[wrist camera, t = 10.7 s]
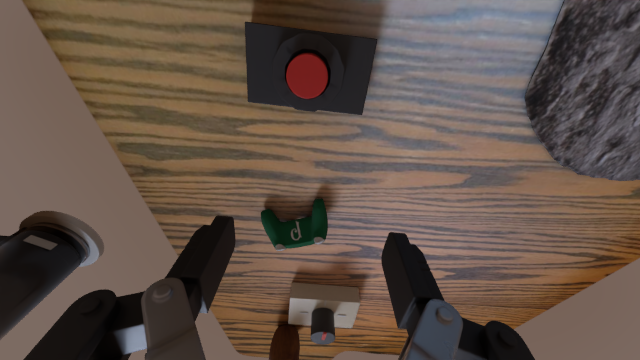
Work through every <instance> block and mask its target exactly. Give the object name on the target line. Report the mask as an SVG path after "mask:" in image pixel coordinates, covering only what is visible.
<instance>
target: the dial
mask: <svg viewBox="0 0 640 360" xmlns="http://www.w3.org/2000/svg"><path fill="white" fill-rule="evenodd" d="M311 340H312V341H313V342H314V343H317V344H329V343H332V342H333V341H334V340H335V324H334V312H333V311H332V310H331V309H328V308H317V309H315V310H314V311H313V312H312V316H311Z"/></svg>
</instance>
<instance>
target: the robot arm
mask: <svg viewBox="0 0 640 360" xmlns="http://www.w3.org/2000/svg"><path fill="white" fill-rule="evenodd" d="M234 247H235V229H234V219H233V217H228V216H216V217H215V219H214V220H213V222H212V224H211V225H203V226H202V227H201V228H200V229H198V230H197V231H196V232H195V233H194V234H193V236H192V237H191V239H190V241H189V242H188V244H187V245H186V247H185V249H184V250H183V251H182V253H181V254H180V256H179V257H178V259H177V260H176V262H175V264H174V265H173V267H172V268H171V270H170V271H169V273H168V274H167V276H166V277H165V278H164V279H162V280H159V281H157V282H155V283H154V284H152V285H151V286H150V287H149V288H148V289H147V290H146V291H144V292H140V293H135V294H131V295H125V296H120V297H116V295H115V293H114V292H112V291H110V290H97V291H93V292H91V293H88V294H86V295H84V296H82V297H81V298H79V299H78V300H76V301H75V302H74V303H73V304H72V305H71V306H70V307H69V308H68V309H67V310H66V311H65V312H64V314H63V315H62V316H61V317H60V318H59V319H58V321H57V322H56V323H55V324H54V325H53V326H52V328H51V329H50V330H49V331H48V332H47V333H46V334H45V336H44V337H43V338H42V339H41V340H40V341H39V343H38V344H37V345H36V346H35V347H34V348H33V349H32V351H31V352H30V353H29V354H28V355H27V356H26V358H25V359H24V360H128V358H129V357H130V355H131V353H132V352H136V351H139V350H143V349H147V353H146V354H145V360H206V359H205V355H204V352H203V348H202V345H201V342H200V338H199V335H198V331H197V328H196V325H195V320H196V318H197V316H198V314H199V313H208V311H209V308H210V306H211V303H212V301H213V299H214V296H215V294H216V291H217V289H218V287H219V284H220V282H221V280H222V277H223V275H224V272H225V270H226V268H227V265H228V263H229V260H230V258H231V256H232V253H233V251H234ZM89 256H90V248H89V246H88V244H87V243H86V241H85V240H84V239H83V238H82V237H81V236H79V235H78V234H77V233H75V232H74V231H72V230H70V229H68V228H66V227H64V226H61V225H58V224H54V223H48V222H39V223H35V224H33V225H31V226H29V227H28V228H26V227H23V228H22V229H20V230H18V231H17V232H16V233H14V234H12V235H11V236H1V235H0V340H1V339H2V338H3V337H4V336H5V335H6V334H7V333H8V332H9V331H10V330H11V329H12V328H13V327H15V326H16V325H17V324H18V323H19V322H20V321H21V320H22V319H23V318H24V317H25V316H26V315H27V314H28V313H29V312H30V311H31V310H32V309H33V308H35V307H36V306H37V305H38V304H39V303H40V302H41V301H42V300H43V299H44V298H45V297H46V296H47V295H48V294H49V293H50V292H52V290H54V289H55V288H56V287H57V286H58V285H59V284H60V283H61V282H62V281H63V280H64V279H65V278H66V277H67V276H68V275H70V274H71V273H72V272H73V271H74V270H75V269H76V268H77V267H78V266H79V265H80V264H81V263H83V262H84V261H85V260H86V259H87V258H88V257H89ZM382 267H383V271H384V275H385V279H386V282H387V286H388V290H389V294H390V298H391V302H392V306H393V310H394V314H395V318H396V322H397V326H398V328H400V329H407V332H408V335H409V336H408V338H407V340H406V342H405V344H404V347H403V349H402V351H401V354H400V356H399V358H398V360H535V359H534V357H533V356H532V354H531V352H530V350H529V349H528V347H527V345H526V344H525V342H524V341H523V339H522V338H521V337H520V336H519V334H518V333H517V332H516V331H514V330H513V329H512V328H511V327H509V326H508V325H506V324H504V323H501V322H498V321H490V322H488V323H487V324H486V325H485V326H482V325H480V324H477V323H475V322H472V321H469V320H467V319H464V318H462V317H461V316H460V314H459V313H458V311H457V310H456V309H455V308H454V307H453V306H452V305H450V304H449V303H447V302H445V301H444V299H443V297H442V294H441V292H440V290H439V288H438V286H437V283H436V281H435V279H434V277H433V275H432V272H431V271H430V268H429V266H428V264H427V261H426V259H425V257H424V255H423V253H422V252H421V251H420V249H419V248H418V247H417V246H416V245H413V244H410V242H409V240H408V238H407V235H406V234H404V233H394V232H390V233H389V235H388V237H387V240H386V243H385V246H384V249H383V252H382Z"/></svg>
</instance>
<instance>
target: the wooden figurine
mask: <svg viewBox="0 0 640 360" xmlns="http://www.w3.org/2000/svg"><path fill="white" fill-rule="evenodd" d="M299 350H300V343H299V334H298V331H297V329H296V328H295V327H293V326H291V325H282V326H280V327H279V328H277V330H276V332H275V334H274V336H273V339H272V342H271V347H270V354H269V360H299Z"/></svg>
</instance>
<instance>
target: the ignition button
mask: <svg viewBox="0 0 640 360" xmlns="http://www.w3.org/2000/svg"><path fill="white" fill-rule="evenodd" d="M286 79H287V84H288V86H289V88H290V89H291V91H292V92H293V93H294V94H295V95H297V96H299V97H301V98H305V99H311V98H314V97H317V96H318V95H320V94H321V93H322V92H323V91H324V89H325V87H326V85H327V81H328V72H327V68H326V65H325V63H324V61H323V60H322V59H321V58H320V57H319V56H317V55H315V54H313V53H302V54H299V55H298V56H296V57H295V58H294V59H293V60H292V61H291V62H290V64H289V65H288V68H287V72H286Z"/></svg>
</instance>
